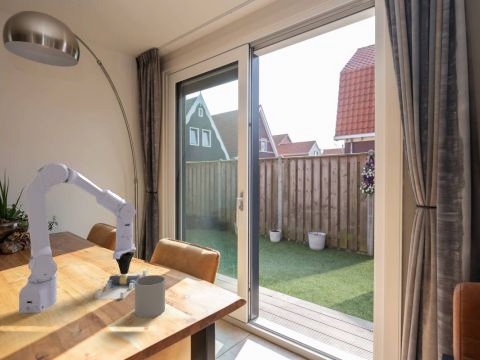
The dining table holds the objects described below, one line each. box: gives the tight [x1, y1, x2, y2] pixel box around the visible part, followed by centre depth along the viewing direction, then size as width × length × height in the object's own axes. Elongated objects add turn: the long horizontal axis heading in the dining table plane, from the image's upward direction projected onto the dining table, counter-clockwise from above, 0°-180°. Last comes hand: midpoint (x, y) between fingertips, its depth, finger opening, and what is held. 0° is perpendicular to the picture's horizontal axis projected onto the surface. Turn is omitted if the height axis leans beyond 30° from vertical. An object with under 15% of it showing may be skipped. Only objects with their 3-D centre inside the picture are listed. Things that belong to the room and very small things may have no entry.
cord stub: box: [108, 274, 140, 285], centre depth 103 cm, size 10×3×3 cm, turn 90°
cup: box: [134, 274, 166, 319], centre depth 83 cm, size 8×8×10 cm
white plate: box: [94, 268, 149, 300], centre depth 103 cm, size 24×9×4 cm, turn 0°
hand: (124, 273), depth 103 cm, fingers closed
